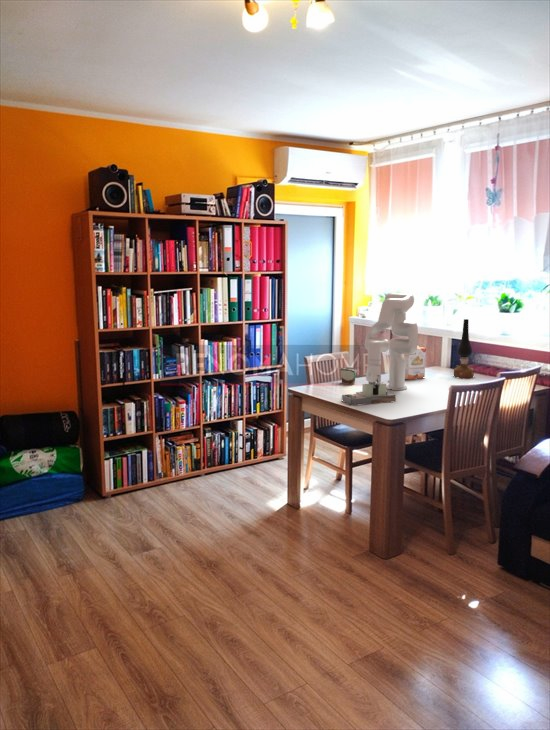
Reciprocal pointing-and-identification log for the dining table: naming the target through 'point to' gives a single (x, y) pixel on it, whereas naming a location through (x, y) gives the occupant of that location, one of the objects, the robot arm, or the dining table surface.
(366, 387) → the bar
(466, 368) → the oil lamp
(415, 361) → the cracker box
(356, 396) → the chip
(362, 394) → the chip
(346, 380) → the food container
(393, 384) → the robot arm
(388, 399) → the groove board
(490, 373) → the dining table surface
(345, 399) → the tray
